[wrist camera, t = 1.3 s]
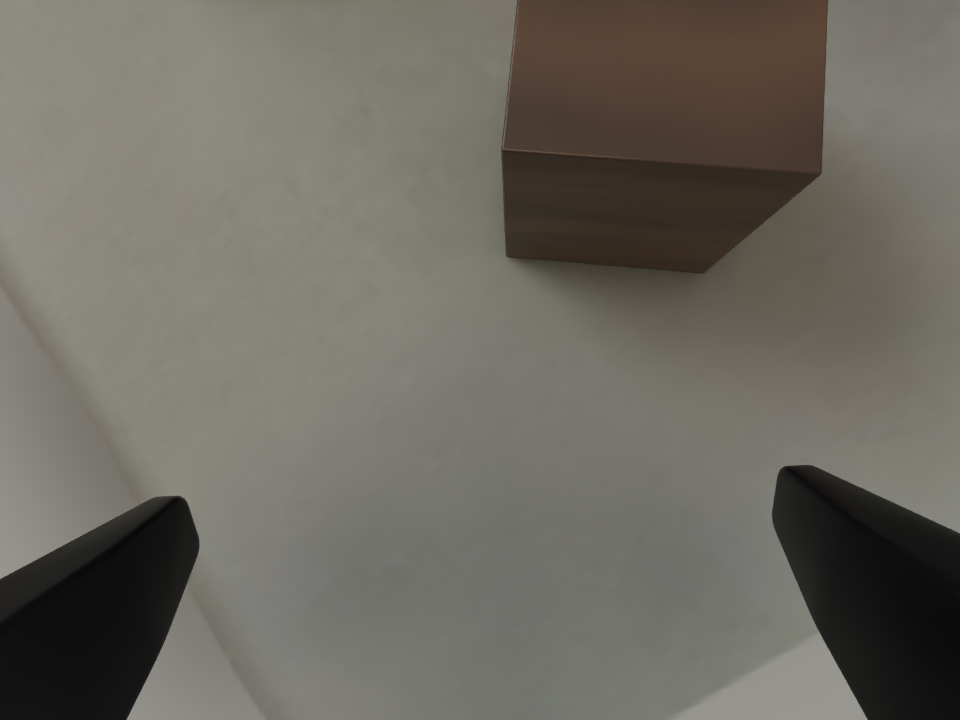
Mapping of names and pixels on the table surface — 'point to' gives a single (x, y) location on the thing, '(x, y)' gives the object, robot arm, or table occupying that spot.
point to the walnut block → (658, 126)
